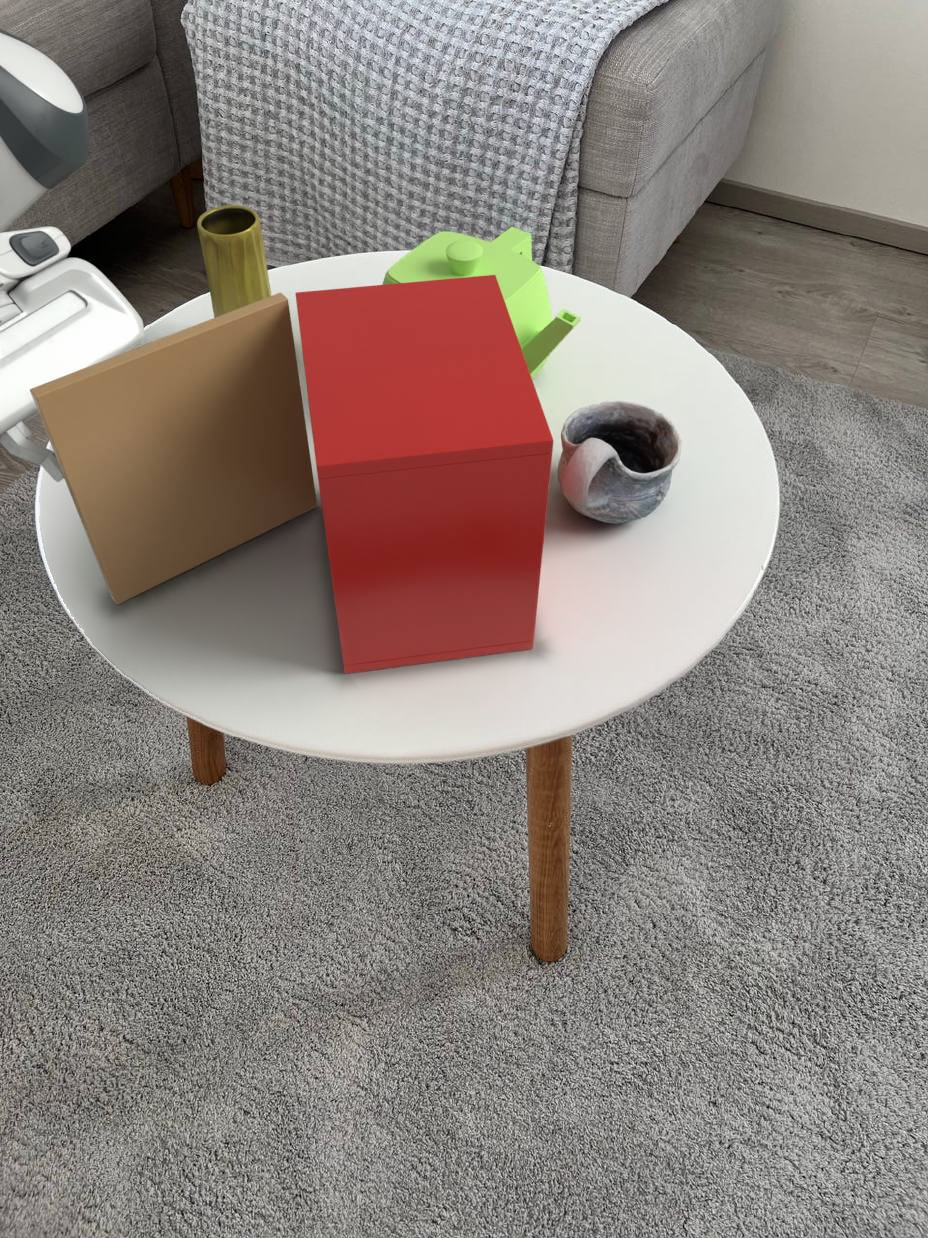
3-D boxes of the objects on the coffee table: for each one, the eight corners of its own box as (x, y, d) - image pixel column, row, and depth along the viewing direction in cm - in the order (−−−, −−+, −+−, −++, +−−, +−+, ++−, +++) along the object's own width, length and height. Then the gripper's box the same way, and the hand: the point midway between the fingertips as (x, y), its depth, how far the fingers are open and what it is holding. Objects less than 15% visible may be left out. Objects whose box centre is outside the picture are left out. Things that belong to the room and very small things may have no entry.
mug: (681, 482, 87) (704, 387, 79) (639, 582, 80) (658, 488, 72) (575, 452, 89) (586, 357, 82) (524, 546, 82) (531, 451, 74)
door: (82, 556, 81) (-4, 346, 66) (278, 465, 88) (241, 257, 73) (116, 605, 78) (35, 397, 62) (317, 506, 85) (288, 298, 69)
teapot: (618, 363, 98) (637, 237, 88) (505, 479, 87) (512, 351, 77) (460, 300, 104) (460, 177, 94) (337, 402, 94) (323, 274, 84)
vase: (290, 342, 99) (270, 203, 88) (277, 381, 96) (254, 240, 85) (229, 338, 100) (202, 199, 89) (213, 376, 96) (182, 236, 85)
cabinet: (344, 674, 74) (316, 466, 58) (323, 503, 85) (295, 291, 70) (533, 649, 75) (553, 440, 60) (487, 485, 87) (495, 274, 71)
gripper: (-178, 355, 62) (-15, 532, 66) (75, 217, 73) (201, 375, 77) (-188, 390, 67) (-35, 553, 71) (50, 255, 78) (170, 402, 82)
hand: (90, 459), depth 74 cm, fingers open, 3 cm apart
